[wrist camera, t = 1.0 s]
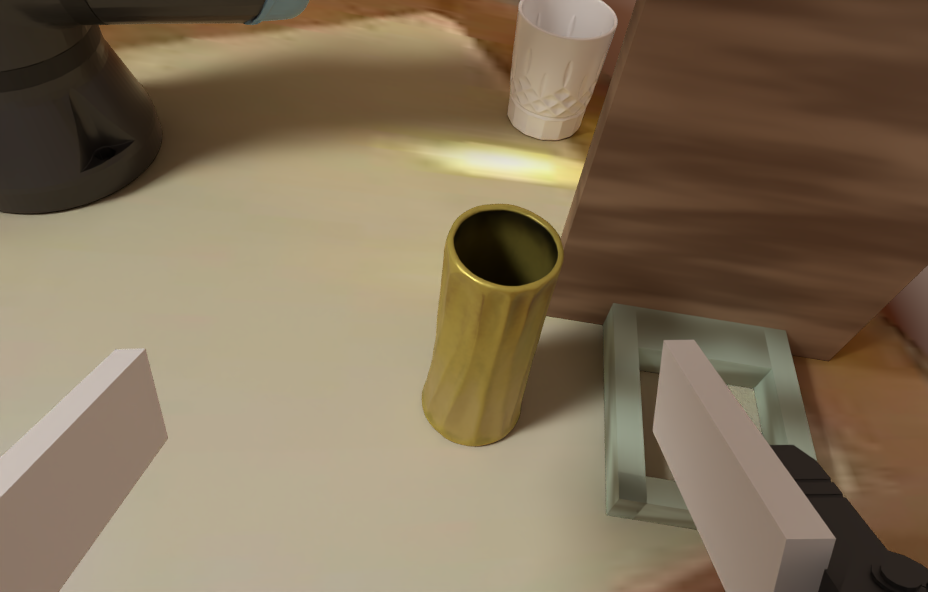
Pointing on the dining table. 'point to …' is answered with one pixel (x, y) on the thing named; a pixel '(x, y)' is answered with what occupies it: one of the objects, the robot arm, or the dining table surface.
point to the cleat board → (746, 204)
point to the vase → (489, 320)
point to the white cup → (557, 64)
